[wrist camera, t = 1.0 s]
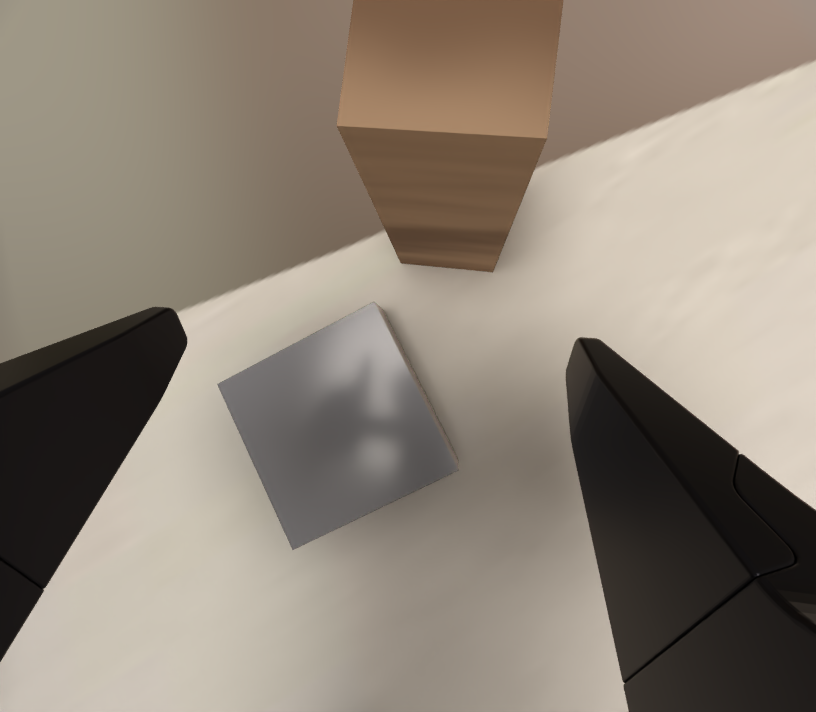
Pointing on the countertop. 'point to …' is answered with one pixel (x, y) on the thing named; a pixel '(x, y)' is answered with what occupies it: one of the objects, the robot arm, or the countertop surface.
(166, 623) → the countertop surface
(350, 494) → the light grey plinth
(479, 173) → the walnut pillar
